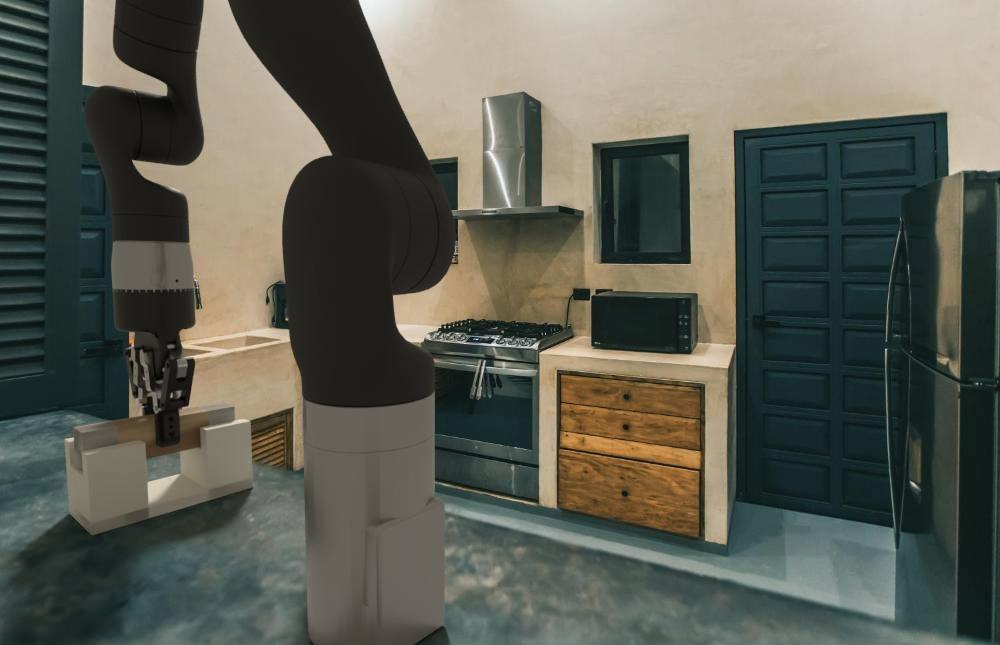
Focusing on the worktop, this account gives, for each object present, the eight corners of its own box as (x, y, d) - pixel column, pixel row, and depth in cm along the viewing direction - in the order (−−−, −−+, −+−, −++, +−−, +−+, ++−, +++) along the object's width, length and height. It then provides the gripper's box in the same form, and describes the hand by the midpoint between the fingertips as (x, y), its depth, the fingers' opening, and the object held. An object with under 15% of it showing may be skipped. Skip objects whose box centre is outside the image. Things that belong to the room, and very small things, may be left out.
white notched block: (252, 487, 67) (250, 421, 66) (91, 535, 55) (86, 455, 54) (223, 472, 72) (221, 410, 71) (69, 513, 60) (64, 439, 59)
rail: (235, 439, 68) (234, 406, 67) (83, 472, 56) (81, 432, 56) (224, 434, 70) (223, 402, 69) (75, 465, 58) (73, 427, 58)
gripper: (219, 286, 59) (225, 447, 61) (166, 282, 68) (173, 423, 70) (138, 288, 54) (147, 465, 55) (92, 283, 63) (101, 436, 64)
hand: (161, 441), depth 63 cm, fingers closed on rail, 3 cm apart
